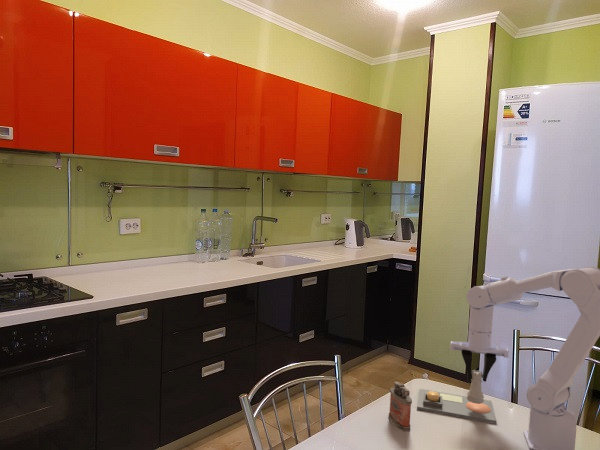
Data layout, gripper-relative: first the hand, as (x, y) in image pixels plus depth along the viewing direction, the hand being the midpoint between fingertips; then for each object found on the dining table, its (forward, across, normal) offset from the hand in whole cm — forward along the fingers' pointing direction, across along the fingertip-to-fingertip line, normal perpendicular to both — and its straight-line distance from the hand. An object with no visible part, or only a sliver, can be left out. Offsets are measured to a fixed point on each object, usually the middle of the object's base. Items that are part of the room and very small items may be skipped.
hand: (476, 378), depth 119 cm
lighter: (+10, +19, +13) cm, 25 cm away
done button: (+8, +11, 0) cm, 13 cm away
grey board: (+9, +5, -2) cm, 11 cm away
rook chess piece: (+6, 0, +1) cm, 6 cm away
